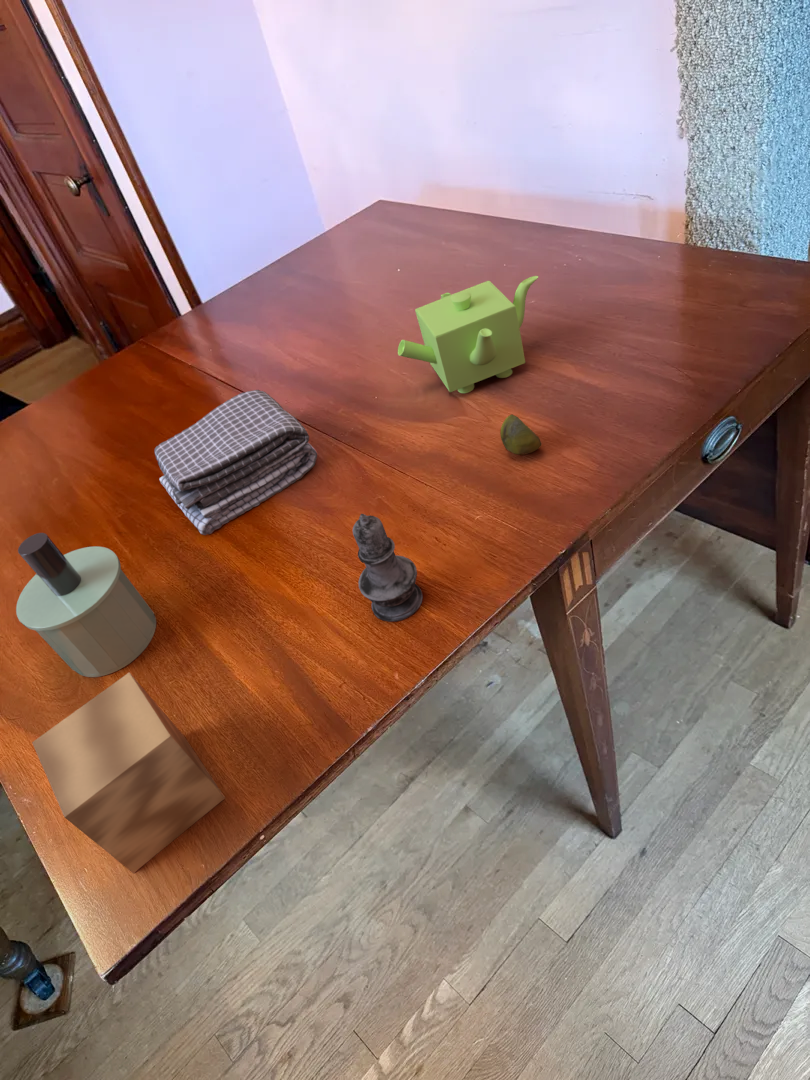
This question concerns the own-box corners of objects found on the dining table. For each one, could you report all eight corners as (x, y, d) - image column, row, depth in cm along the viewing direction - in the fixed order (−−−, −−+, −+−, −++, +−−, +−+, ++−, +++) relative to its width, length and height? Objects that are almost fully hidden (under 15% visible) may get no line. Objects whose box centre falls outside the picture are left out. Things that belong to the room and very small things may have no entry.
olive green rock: (509, 438, 89) (502, 404, 85) (549, 440, 86) (543, 404, 83) (498, 463, 86) (490, 428, 83) (539, 465, 84) (532, 429, 80)
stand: (133, 873, 61) (64, 817, 54) (97, 800, 67) (31, 742, 60) (225, 797, 63) (170, 735, 57) (183, 734, 70) (129, 671, 63)
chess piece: (436, 587, 74) (405, 498, 67) (406, 631, 71) (370, 543, 63) (388, 573, 78) (353, 487, 70) (357, 615, 75) (317, 529, 67)
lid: (38, 653, 71) (-8, 605, 66) (10, 598, 78) (-33, 552, 74) (139, 585, 74) (101, 534, 70) (103, 538, 82) (67, 490, 77)
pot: (87, 694, 77) (38, 643, 71) (59, 644, 83) (13, 594, 78) (170, 634, 80) (130, 581, 74) (136, 590, 87) (98, 539, 81)
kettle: (549, 343, 101) (537, 265, 94) (512, 406, 93) (496, 326, 86) (450, 341, 109) (432, 269, 101) (408, 399, 101) (385, 325, 93)
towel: (327, 466, 94) (305, 416, 89) (198, 542, 90) (168, 494, 85) (280, 421, 105) (258, 374, 100) (163, 487, 101) (134, 441, 96)
